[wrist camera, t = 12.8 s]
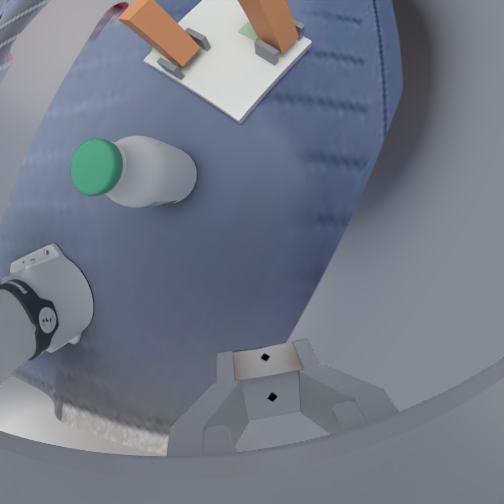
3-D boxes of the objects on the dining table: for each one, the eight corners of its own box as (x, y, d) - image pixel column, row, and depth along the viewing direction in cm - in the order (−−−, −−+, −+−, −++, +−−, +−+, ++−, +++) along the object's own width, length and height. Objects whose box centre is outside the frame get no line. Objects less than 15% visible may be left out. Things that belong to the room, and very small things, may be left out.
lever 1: (184, 71, 32) (126, 21, 21) (170, 65, 33) (116, 20, 23) (204, 48, 31) (152, -4, 21) (190, 44, 33) (139, -4, 22)
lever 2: (282, 57, 31) (254, -4, 20) (261, 48, 32) (229, -9, 21) (301, 38, 30) (279, -23, 19) (280, 30, 31) (254, -28, 20)
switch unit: (240, 124, 37) (235, 114, 31) (148, 65, 35) (133, 51, 30) (310, 47, 34) (315, 29, 28) (215, -3, 32) (209, -22, 27)
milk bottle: (171, 138, 38) (92, 100, 18) (209, 173, 38) (151, 157, 19) (136, 179, 39) (42, 176, 20) (172, 214, 40) (92, 236, 20)
